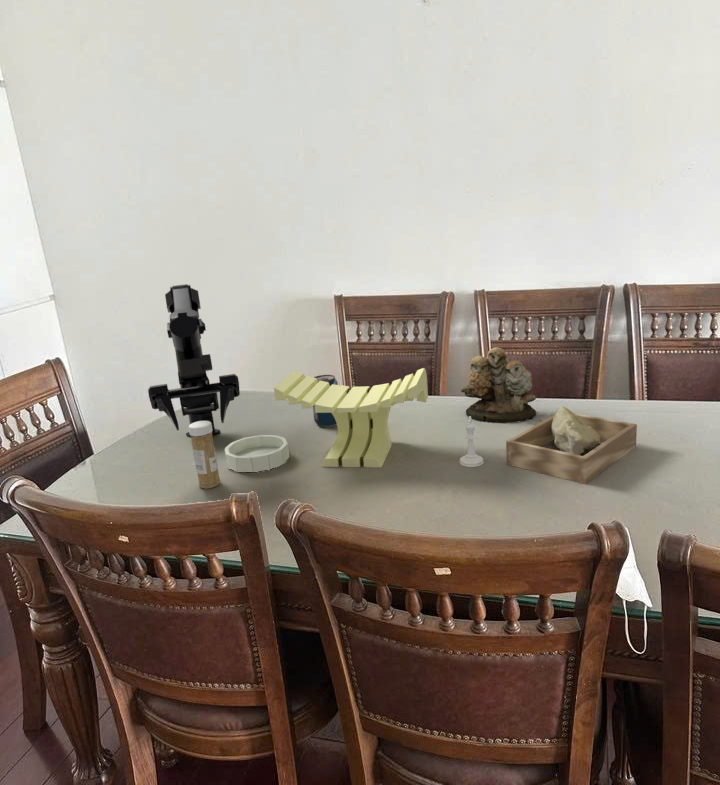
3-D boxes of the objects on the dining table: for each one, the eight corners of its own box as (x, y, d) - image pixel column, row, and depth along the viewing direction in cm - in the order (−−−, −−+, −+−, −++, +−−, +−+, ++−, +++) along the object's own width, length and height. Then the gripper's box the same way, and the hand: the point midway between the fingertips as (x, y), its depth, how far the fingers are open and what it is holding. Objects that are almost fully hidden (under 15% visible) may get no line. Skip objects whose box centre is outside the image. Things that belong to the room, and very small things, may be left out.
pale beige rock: (564, 444, 149) (522, 415, 141) (588, 421, 147) (547, 390, 139) (600, 490, 137) (556, 460, 129) (627, 465, 134) (584, 434, 127)
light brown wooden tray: (506, 464, 136) (506, 441, 135) (561, 432, 151) (561, 410, 149) (585, 484, 124) (585, 459, 123) (636, 447, 139) (636, 424, 138)
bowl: (215, 464, 150) (212, 449, 149) (263, 445, 159) (261, 431, 158) (251, 478, 140) (249, 462, 139) (300, 457, 150) (299, 442, 149)
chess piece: (485, 458, 140) (484, 413, 137) (481, 467, 136) (480, 421, 133) (462, 457, 142) (460, 412, 139) (457, 466, 137) (455, 420, 134)
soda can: (347, 420, 171) (342, 375, 168) (331, 429, 166) (326, 382, 162) (324, 417, 175) (320, 373, 172) (309, 426, 170) (304, 380, 166)
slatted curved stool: (430, 439, 153) (426, 364, 148) (421, 467, 138) (416, 384, 133) (305, 440, 160) (296, 367, 155) (283, 466, 145) (273, 387, 140)
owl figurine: (459, 423, 163) (455, 354, 158) (464, 408, 173) (461, 343, 169) (536, 423, 158) (534, 352, 153) (536, 407, 169) (535, 341, 164)
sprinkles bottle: (224, 484, 138) (214, 423, 135) (203, 491, 136) (192, 429, 132) (215, 478, 142) (206, 418, 138) (195, 484, 140) (185, 423, 136)
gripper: (141, 349, 138) (148, 414, 131) (232, 337, 143) (244, 399, 135) (148, 377, 148) (156, 440, 141) (233, 365, 152) (245, 425, 145)
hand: (200, 425), depth 140 cm, fingers open, 9 cm apart
